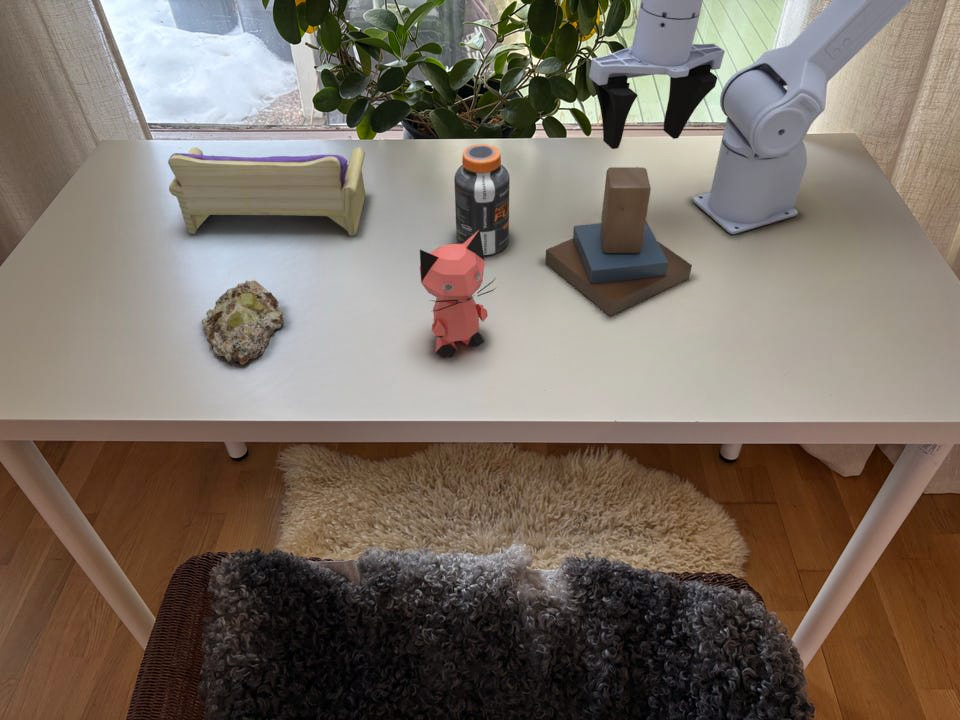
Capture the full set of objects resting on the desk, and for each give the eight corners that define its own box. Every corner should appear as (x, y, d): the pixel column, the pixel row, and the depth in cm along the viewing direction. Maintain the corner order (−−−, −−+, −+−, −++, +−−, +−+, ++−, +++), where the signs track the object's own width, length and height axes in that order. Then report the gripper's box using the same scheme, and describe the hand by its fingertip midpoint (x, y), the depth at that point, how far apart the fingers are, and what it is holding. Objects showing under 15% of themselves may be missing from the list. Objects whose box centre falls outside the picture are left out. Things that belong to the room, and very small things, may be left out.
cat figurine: (439, 373, 73) (431, 272, 65) (408, 331, 78) (397, 231, 69) (504, 347, 76) (504, 247, 67) (470, 308, 80) (467, 209, 72)
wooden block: (602, 254, 80) (610, 187, 75) (599, 232, 83) (606, 165, 77) (641, 254, 80) (651, 187, 74) (637, 232, 83) (646, 165, 77)
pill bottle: (503, 259, 86) (504, 169, 78) (451, 254, 87) (446, 164, 79) (513, 229, 90) (514, 140, 82) (463, 224, 91) (459, 135, 83)
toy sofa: (371, 196, 96) (361, 118, 88) (362, 237, 89) (350, 157, 82) (204, 196, 96) (180, 119, 89) (183, 237, 90) (155, 158, 83)
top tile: (643, 232, 86) (645, 218, 85) (665, 276, 80) (668, 262, 79) (572, 239, 85) (573, 225, 84) (590, 284, 80) (591, 270, 78)
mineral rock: (198, 284, 80) (269, 260, 79) (220, 313, 83) (289, 290, 82) (185, 358, 72) (264, 333, 72) (210, 387, 76) (286, 363, 75)
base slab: (621, 229, 89) (623, 216, 88) (689, 278, 83) (692, 265, 82) (545, 262, 85) (545, 249, 84) (610, 316, 79) (611, 303, 77)
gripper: (626, 31, 69) (601, 167, 78) (757, 16, 74) (718, 147, 83) (588, 3, 74) (568, 135, 83) (713, -9, 78) (681, 117, 88)
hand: (641, 139), depth 83 cm, fingers open, 7 cm apart
